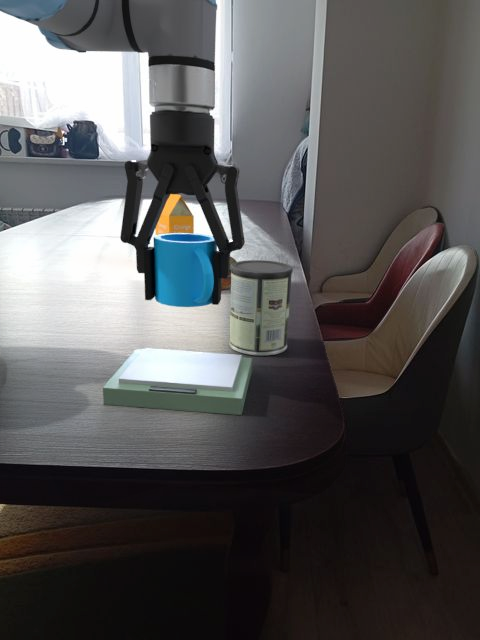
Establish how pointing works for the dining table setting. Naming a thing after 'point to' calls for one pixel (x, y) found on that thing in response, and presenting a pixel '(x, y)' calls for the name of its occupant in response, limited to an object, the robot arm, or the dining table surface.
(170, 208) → the orange juice
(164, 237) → the mug
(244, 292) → the coffee can
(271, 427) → the dining table surface
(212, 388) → the scale
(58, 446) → the dining table surface
